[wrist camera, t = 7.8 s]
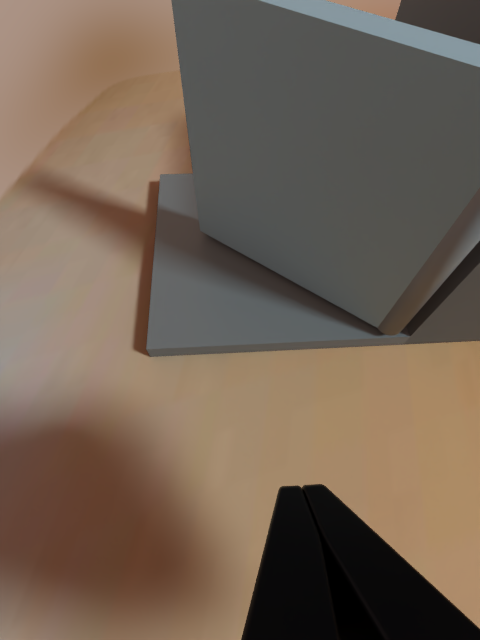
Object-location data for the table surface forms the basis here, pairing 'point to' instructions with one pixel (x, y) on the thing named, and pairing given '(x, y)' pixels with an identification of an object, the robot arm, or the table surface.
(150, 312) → the grey box with dial
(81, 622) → the table surface
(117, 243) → the table surface
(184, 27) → the side door
